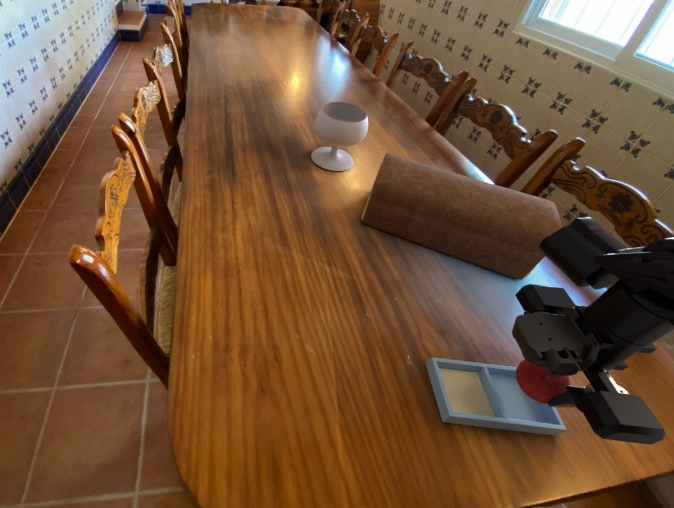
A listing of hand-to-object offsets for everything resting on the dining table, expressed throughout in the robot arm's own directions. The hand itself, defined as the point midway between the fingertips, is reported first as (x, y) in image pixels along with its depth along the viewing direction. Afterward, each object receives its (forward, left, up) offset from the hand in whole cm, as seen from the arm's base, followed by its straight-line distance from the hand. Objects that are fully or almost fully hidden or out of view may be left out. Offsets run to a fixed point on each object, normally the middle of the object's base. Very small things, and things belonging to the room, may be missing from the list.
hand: (539, 381), depth 50 cm
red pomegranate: (0, 0, -3) cm, 3 cm away
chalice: (+62, +22, -7) cm, 66 cm away
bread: (+36, 0, -7) cm, 37 cm away
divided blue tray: (0, +4, -7) cm, 8 cm away
